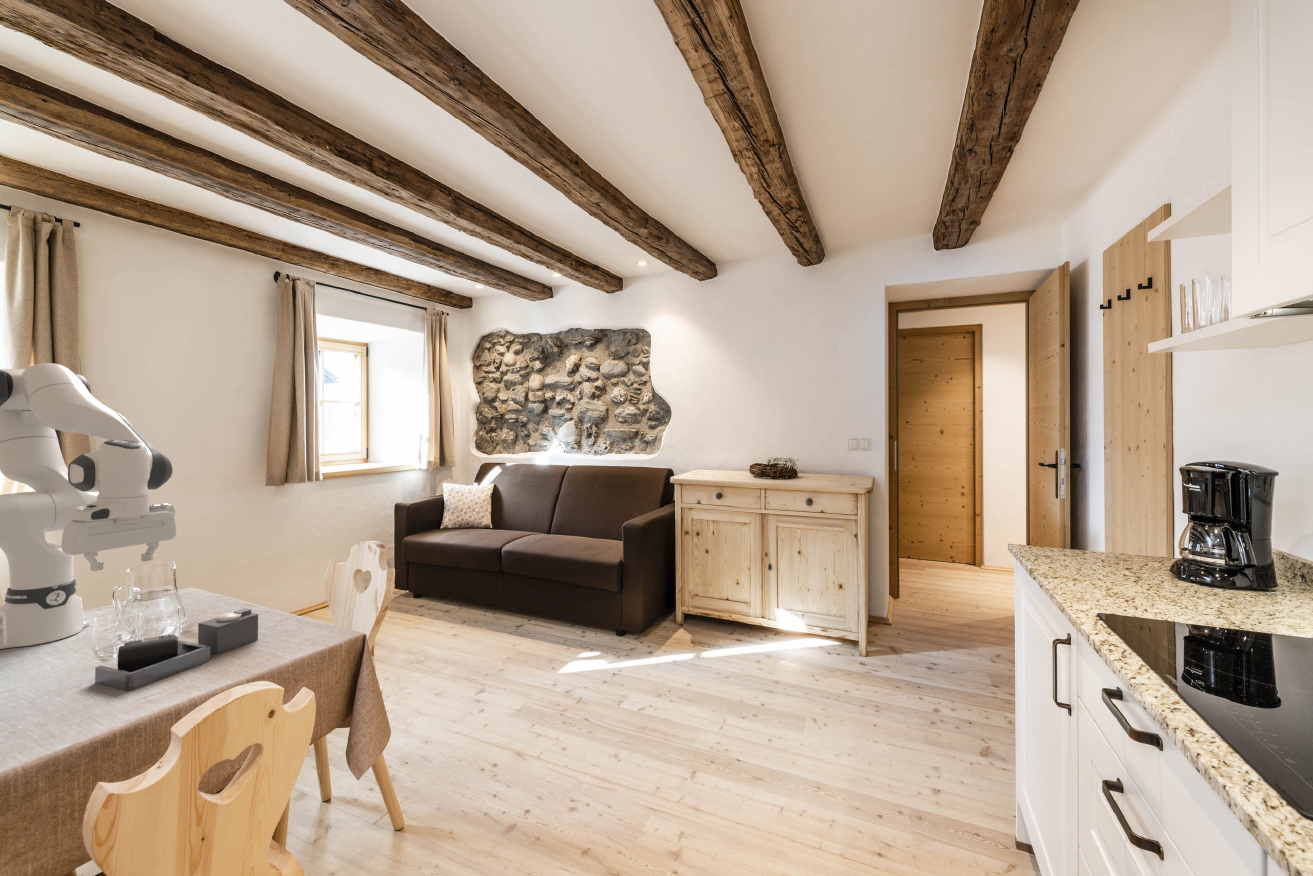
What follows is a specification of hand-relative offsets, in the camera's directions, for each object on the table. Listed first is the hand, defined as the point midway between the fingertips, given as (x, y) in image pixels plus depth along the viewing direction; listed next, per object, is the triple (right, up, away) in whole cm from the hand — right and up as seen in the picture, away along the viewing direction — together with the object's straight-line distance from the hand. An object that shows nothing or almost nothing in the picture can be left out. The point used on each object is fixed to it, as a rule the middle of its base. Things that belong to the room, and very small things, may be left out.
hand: (122, 565), depth 126 cm
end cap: (+8, -24, -2) cm, 26 cm away
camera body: (+16, -24, +12) cm, 31 cm away
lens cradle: (+11, -24, -3) cm, 27 cm away
